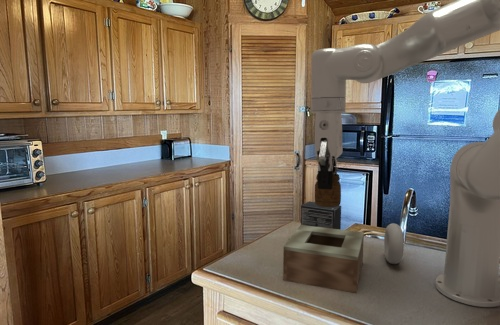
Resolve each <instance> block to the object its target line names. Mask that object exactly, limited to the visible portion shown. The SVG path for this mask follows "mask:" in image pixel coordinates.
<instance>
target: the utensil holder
mask: <svg viewBox="0 0 500 325" xmlns="http://www.w3.org/2000/svg"><path fill="white" fill-rule="evenodd" d="M332 159H333V162H334V159H335V158H332ZM316 160H317V163H318V162H319V158H317V157H316ZM332 166H333V165H332ZM336 167H337V170H338V169H339V167H338V164H336ZM332 169H333V167H332ZM335 171H336V170H335ZM315 180H316V182H315V184H314V202H315V204H316V205H318V206H321V207H336V206H339V205H340V206H341V200H342V188H341V187H342V186H341V182H340V174H339V173H337V174H335V173H333V188H332V189H319V188H318V173H317V174H316V177H315Z"/></svg>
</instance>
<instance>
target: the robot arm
mask: <svg viewBox="0 0 500 325" xmlns="http://www.w3.org/2000/svg"><path fill="white" fill-rule="evenodd" d="M499 31H500V0H453V1H451V2H449V3H447V4H445V5H442V6H440V7H438V8H436V9H433V10H431V11H429V12H427V13H426V14H424V15H423V16H421V17H420V18H418V20H416V21H415V22H414V23H413V24H412V25H410V26H409V27H408V28H406V29H405V30H404V31H402V32H400V33H399V34H397V35H394V36H393V37H391V38H389V39H387V40H385V41H383V42H381V43H378V44H376V45H375V44H373V43H359V44H355V45H351V46H350V45H349V46H346V47H339V48H338V47H326V48H325V47H324V48H320V49H316V50H314V51H313V52H312V54H311V58H310V59H311V62H310V65H311V66H310V71H311V73H310V74H311V75H310V80H311V83H310V84H311V86H310V114H315V121H314V156H315V157H316V159H317V158H319V162H318V161H317V165H318V166H317V174H318V188H319V189H332V188H333V173H335V174H338V169H337V168H338V166H337V167H336V165H338V162H337V158H339V157H340V156H341V155H342V154H343V151H344V150H343V119H342V114H343V113H345V114H346V108H347V107H346V105H347V103H346V100H347V98H346V97H347V96H346V95H347V94H346V93H347V91H346V90H347V80H351V81H356V82H357V83H360V84H370V83H373V82H376V81H379V80H380V79H383V78H385V77H388V76H391V75H394V74H396V73H398V72H400V71H402V70H403V71H404V70H405V69H407V68H410V67H411V66H414V65H416V64H420V63H422V62H425V61H428V60H431V59H433V58H436V57H437V56H440V55H443V54H446V53H447V52H450V51H452V50H455V49H457V48H460V47H462V46H463V45H466V44H469V43H471V42H474V41H476V40H478V39H479V40H480V39H481V38H484V37H487V36H489V35H492V34H493V33H496V32H499ZM492 129H493V133H492V134H491V135H490V136H489V137H488V139H486V141H474V142H470V143H467V144H465V145H463V146H462V147H460V148H459V149H458V150H457V151H456V152H455V154H454V156H453V157H452V159H451V164H450V171H449V179H450V180H449V181H450V182H449V183H450V187H449V190H450V193H449V195H450V197H449V213H448V224H447V232H446V233H447V236H446V246H445V258H444V259H445V262H444V270H443V272H444V273H443V274H440V275H437V277H436V278H435V283H434V285H435V286H434V287H435V288H436V289H437V291H439V292H440V293H441V294H442V295H443V296H445V297H447V298H448V299H451V300H453V301H456V302H458V303H460V304H461V303H462V304H464V305H469V306H473V307H481V308H493V307H500V275H499V270H500V108H499V109H498V111H497V112H496V113H495V116H494V118H493V120H492ZM332 158H335V159H334V162H333V159H332ZM332 165H333V166H332ZM332 167H333V169H332ZM335 170H336V171H335Z"/></svg>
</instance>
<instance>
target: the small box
mask: <svg viewBox="0 0 500 325" xmlns="http://www.w3.org/2000/svg"><path fill="white" fill-rule="evenodd" d="M300 209H301V210H300V225H306V226H314V227H323V228H331V229H340V230H342V227H341V225H342V223H341V222H342V205H341V204H340V205H339V206H336V207H321V206H318V205H316V204H315V201H307V202H305V203H302V204H301V205H300Z"/></svg>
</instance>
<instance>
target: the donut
mask: <svg viewBox="0 0 500 325" xmlns="http://www.w3.org/2000/svg"><path fill="white" fill-rule="evenodd" d="M404 241H405V240H404V233H403V230H402V228H401V226H400V225H399V224H397V223H390V224H388V225H387V226H386V228H385V231H384V240H383V242H384V243H383V244H384V245H383V250H384V256H385V259H386V261H387V262H388V263H390V264H391V265H397V264H399V263H400V262H401V261H402V259H403V255H404V250H405V249H404V248H405V247H404V246H405V242H404Z"/></svg>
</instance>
